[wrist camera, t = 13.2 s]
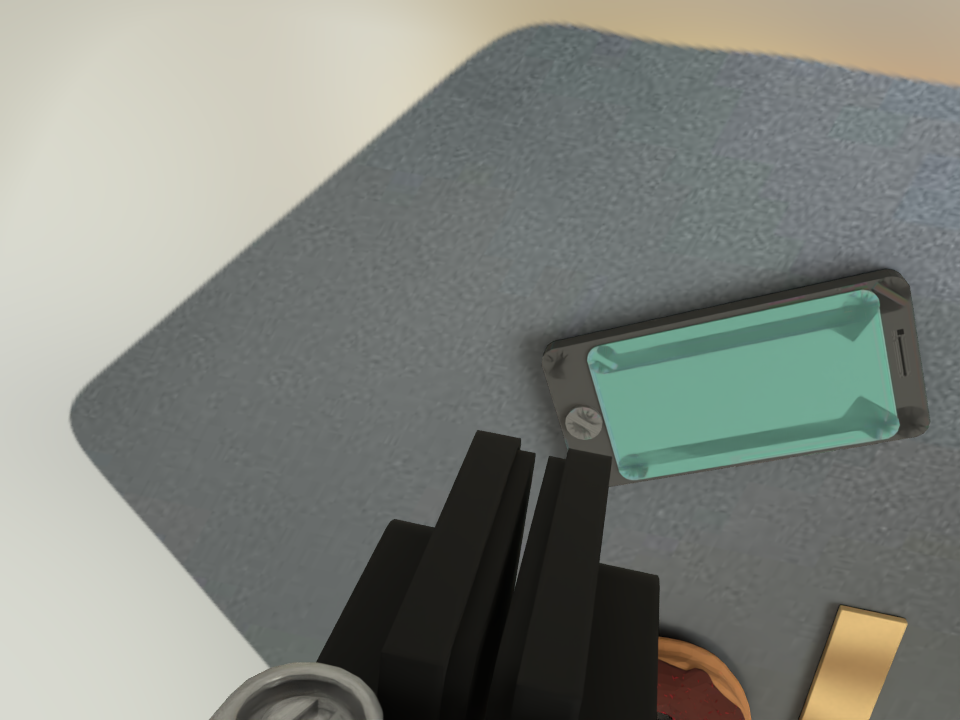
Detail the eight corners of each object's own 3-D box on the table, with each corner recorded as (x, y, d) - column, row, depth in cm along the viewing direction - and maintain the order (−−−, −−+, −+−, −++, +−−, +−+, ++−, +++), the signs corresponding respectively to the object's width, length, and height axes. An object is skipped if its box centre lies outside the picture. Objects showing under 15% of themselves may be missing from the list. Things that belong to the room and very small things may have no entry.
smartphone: (536, 354, 38) (909, 274, 34) (541, 343, 39) (901, 264, 35) (581, 497, 41) (934, 441, 36) (583, 483, 42) (926, 427, 37)
